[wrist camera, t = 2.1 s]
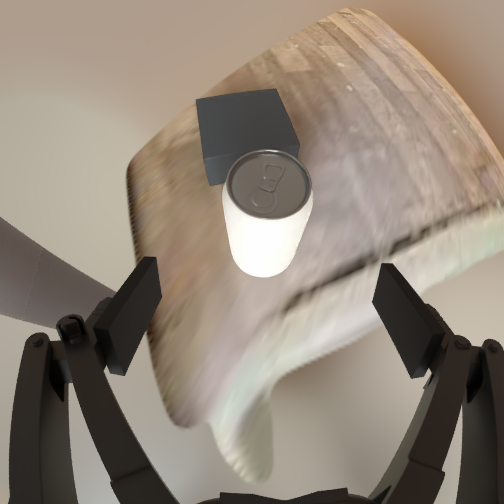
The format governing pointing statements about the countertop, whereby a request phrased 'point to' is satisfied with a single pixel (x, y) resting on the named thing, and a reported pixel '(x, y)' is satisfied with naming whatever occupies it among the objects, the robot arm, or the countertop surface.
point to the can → (266, 210)
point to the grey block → (242, 129)
